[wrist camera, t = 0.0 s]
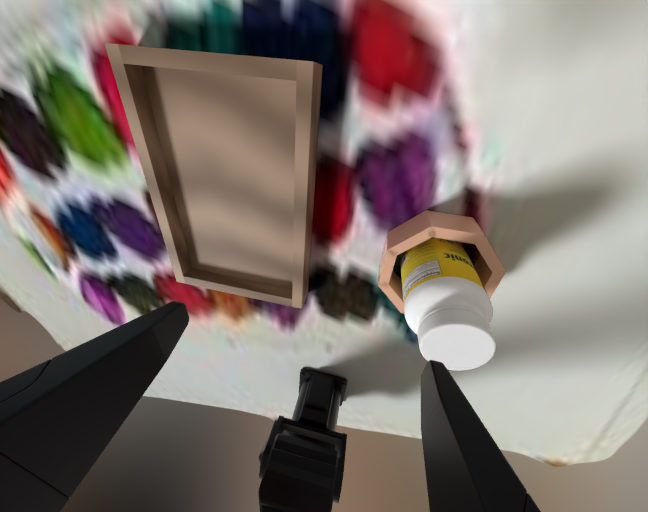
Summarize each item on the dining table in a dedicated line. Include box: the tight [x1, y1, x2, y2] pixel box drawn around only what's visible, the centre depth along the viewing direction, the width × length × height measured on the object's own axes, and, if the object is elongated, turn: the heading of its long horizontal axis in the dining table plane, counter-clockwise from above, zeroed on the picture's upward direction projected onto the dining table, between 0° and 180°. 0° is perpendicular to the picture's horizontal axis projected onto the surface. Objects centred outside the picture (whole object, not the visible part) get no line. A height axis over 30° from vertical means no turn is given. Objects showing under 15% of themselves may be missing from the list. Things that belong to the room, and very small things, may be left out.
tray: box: [104, 43, 323, 309], centre depth 22 cm, size 20×14×2 cm
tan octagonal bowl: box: [378, 210, 506, 313], centre depth 21 cm, size 9×9×3 cm
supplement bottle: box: [401, 237, 496, 371], centre depth 19 cm, size 5×5×10 cm
